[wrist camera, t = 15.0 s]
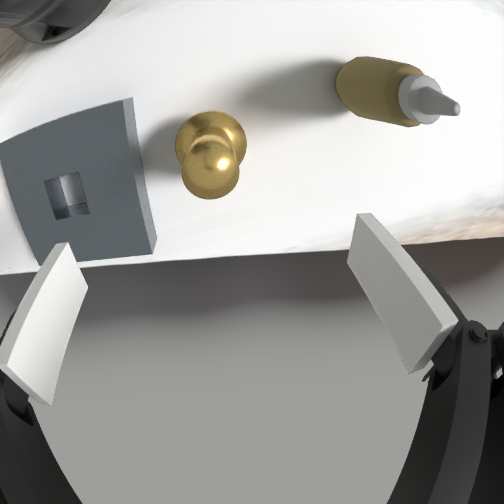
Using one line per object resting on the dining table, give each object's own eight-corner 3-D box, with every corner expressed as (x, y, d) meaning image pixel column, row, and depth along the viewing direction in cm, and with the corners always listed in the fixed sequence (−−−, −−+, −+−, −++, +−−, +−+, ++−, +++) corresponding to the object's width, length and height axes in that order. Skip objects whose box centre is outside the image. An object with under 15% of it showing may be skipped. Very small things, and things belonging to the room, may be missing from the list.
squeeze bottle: (324, 54, 26) (420, 48, 12) (379, 61, 27) (484, 74, 12) (326, 113, 31) (415, 153, 16) (379, 115, 31) (476, 159, 17)
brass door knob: (167, 141, 31) (142, 180, 20) (209, 95, 28) (207, 104, 17) (213, 177, 34) (214, 233, 23) (255, 135, 32) (280, 170, 21)
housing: (49, 251, 36) (39, 266, 33) (12, 136, 25) (-3, 145, 21) (156, 237, 38) (152, 254, 35) (132, 97, 26) (122, 100, 23)
